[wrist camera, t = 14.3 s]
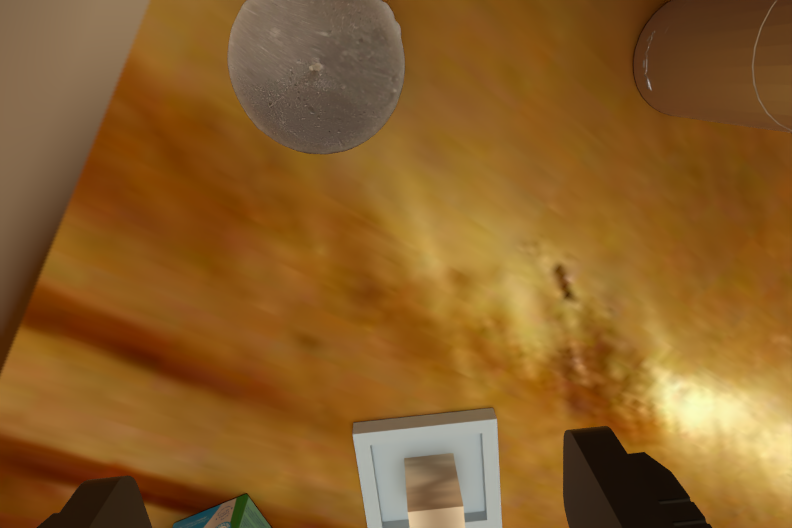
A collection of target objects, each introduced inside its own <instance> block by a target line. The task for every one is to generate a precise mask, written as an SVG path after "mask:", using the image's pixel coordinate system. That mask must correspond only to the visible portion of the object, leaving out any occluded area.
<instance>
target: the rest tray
mask: <svg viewBox="0 0 792 528" xmlns="http://www.w3.org/2000/svg"><path fill="white" fill-rule="evenodd" d="M353 439H354V446H355V452H356V458H357V464H358V470H359V477H360V483H361V489H362V495H363V501H364V507H365V514H366V520H367V526H368V528H410V527H409V519H408V510H407V494H406V479H405V463H404V458H410V457H420V456H429V455H439V454H448V453H453V455H454V460H455V465H456V470H457V476H458V481H459V486H460V491H461V496H462V501H463V506H464V519H465V528H502V517H501V496H500V475H499V454H498V433H497V418H496V415H495V412H494V409H493V408H487V409H477V410H468V411H459V412H449V413H440V414H431V415H421V416H412V417H403V418H393V419H384V420H375V421H365V422H356V423H353Z"/></svg>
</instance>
